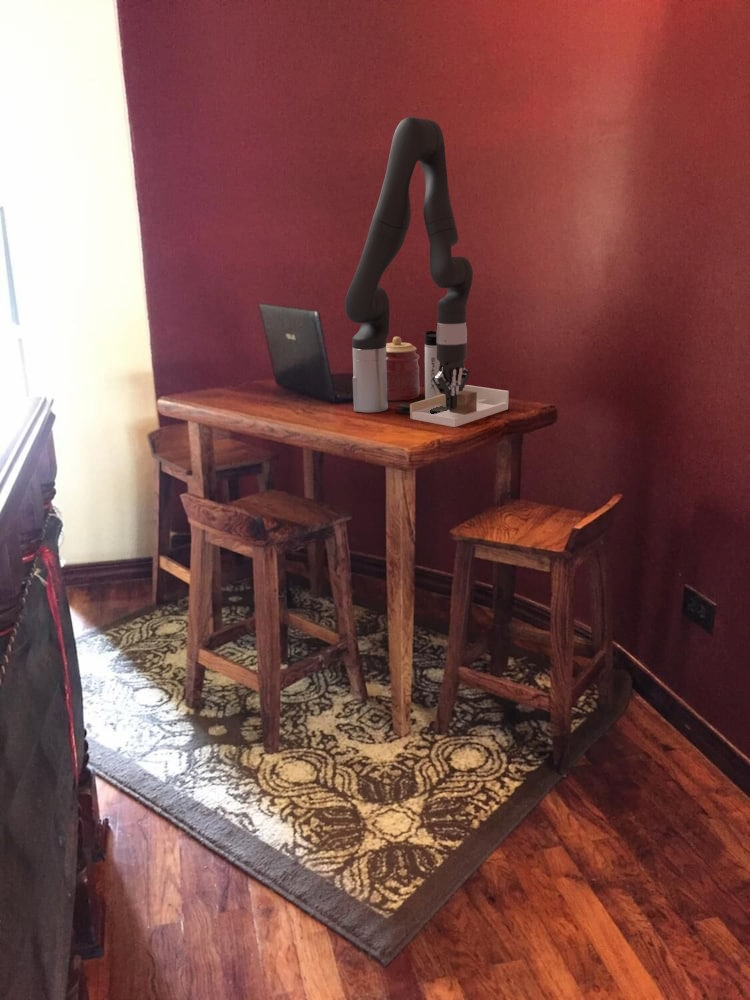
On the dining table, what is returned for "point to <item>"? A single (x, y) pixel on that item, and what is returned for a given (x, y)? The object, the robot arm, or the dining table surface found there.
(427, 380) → the travel mug
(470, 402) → the block
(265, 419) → the dining table surface
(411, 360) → the canister
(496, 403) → the tray
